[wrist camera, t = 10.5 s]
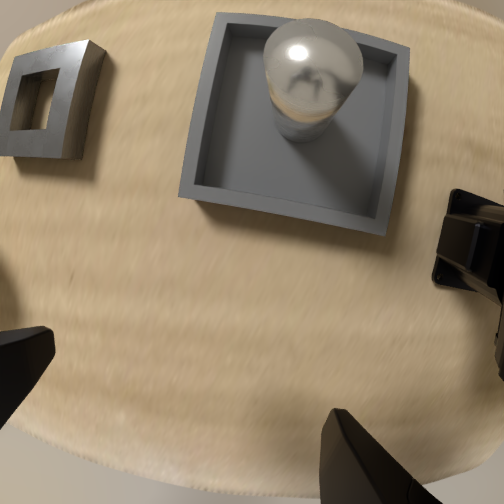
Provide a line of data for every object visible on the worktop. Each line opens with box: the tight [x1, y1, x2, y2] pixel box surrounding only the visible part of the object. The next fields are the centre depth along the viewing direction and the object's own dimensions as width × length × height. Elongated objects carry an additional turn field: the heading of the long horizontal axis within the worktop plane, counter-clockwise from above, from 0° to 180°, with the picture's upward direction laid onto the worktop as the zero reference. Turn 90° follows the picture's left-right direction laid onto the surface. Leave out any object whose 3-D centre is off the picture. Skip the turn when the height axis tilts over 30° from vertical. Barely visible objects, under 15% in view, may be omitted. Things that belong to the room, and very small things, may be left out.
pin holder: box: [0, 40, 106, 160], centre depth 18 cm, size 9×9×2 cm
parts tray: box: [178, 12, 410, 236], centre depth 16 cm, size 12×12×2 cm
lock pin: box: [263, 18, 363, 143], centre depth 13 cm, size 3×3×9 cm
